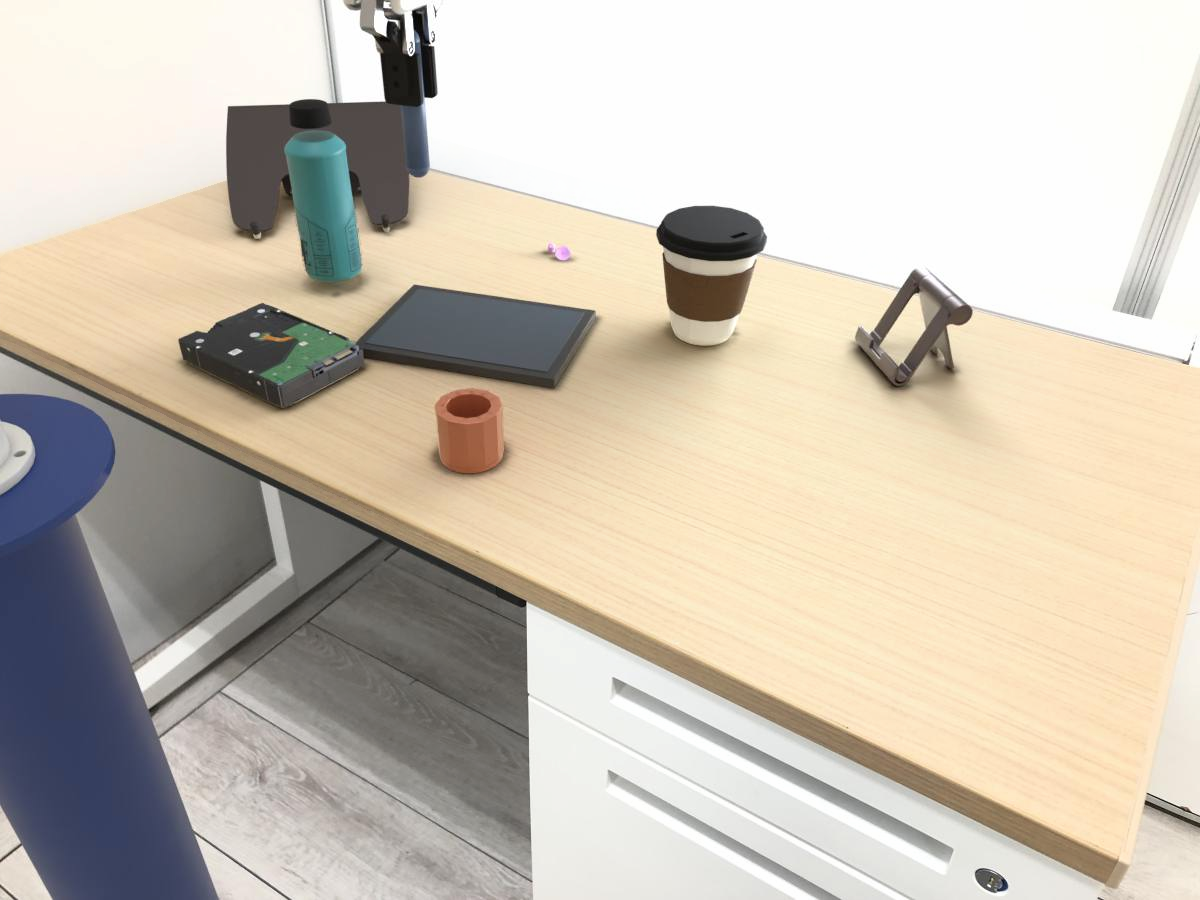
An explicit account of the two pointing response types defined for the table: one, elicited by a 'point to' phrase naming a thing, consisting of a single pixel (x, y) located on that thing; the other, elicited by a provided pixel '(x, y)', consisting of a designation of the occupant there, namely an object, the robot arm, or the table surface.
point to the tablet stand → (937, 314)
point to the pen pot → (470, 430)
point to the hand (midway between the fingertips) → (411, 98)
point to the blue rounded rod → (416, 131)
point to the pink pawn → (559, 251)
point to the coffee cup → (708, 269)
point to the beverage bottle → (322, 195)
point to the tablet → (479, 335)
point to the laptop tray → (264, 165)
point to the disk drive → (272, 354)
